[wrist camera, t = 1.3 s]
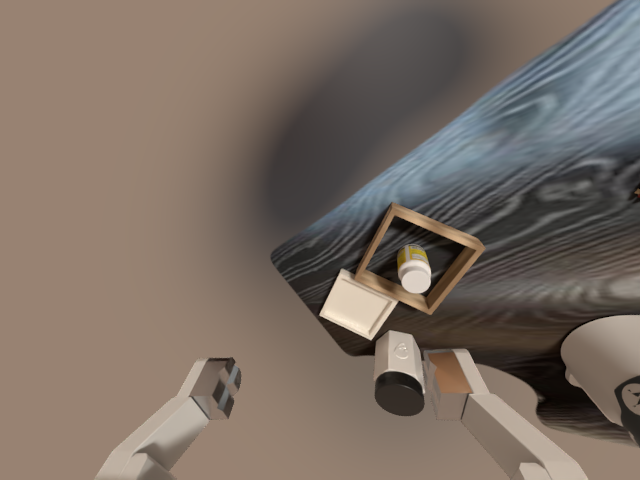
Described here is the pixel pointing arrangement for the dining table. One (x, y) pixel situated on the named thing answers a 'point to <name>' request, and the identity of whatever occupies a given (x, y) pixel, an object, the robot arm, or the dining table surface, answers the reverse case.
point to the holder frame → (447, 280)
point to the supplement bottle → (413, 268)
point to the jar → (398, 374)
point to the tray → (357, 305)
